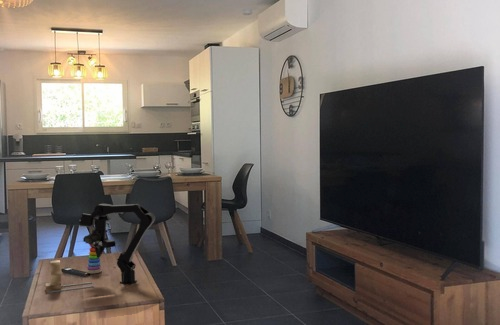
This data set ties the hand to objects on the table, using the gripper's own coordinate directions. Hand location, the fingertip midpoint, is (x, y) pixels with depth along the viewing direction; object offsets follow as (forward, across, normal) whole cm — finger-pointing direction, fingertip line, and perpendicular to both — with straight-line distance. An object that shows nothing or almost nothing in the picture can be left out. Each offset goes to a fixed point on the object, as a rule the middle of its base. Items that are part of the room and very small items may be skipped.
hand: (98, 257), depth 277 cm
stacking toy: (+14, -17, +13) cm, 26 cm away
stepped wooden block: (+14, -5, -23) cm, 27 cm away
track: (+14, -1, -16) cm, 21 cm away
